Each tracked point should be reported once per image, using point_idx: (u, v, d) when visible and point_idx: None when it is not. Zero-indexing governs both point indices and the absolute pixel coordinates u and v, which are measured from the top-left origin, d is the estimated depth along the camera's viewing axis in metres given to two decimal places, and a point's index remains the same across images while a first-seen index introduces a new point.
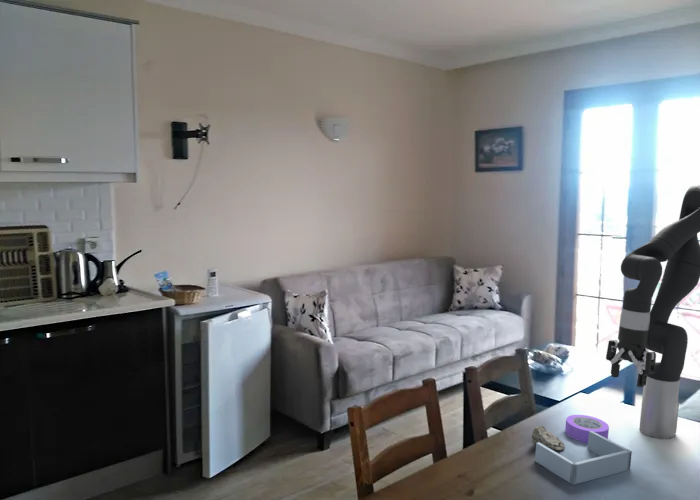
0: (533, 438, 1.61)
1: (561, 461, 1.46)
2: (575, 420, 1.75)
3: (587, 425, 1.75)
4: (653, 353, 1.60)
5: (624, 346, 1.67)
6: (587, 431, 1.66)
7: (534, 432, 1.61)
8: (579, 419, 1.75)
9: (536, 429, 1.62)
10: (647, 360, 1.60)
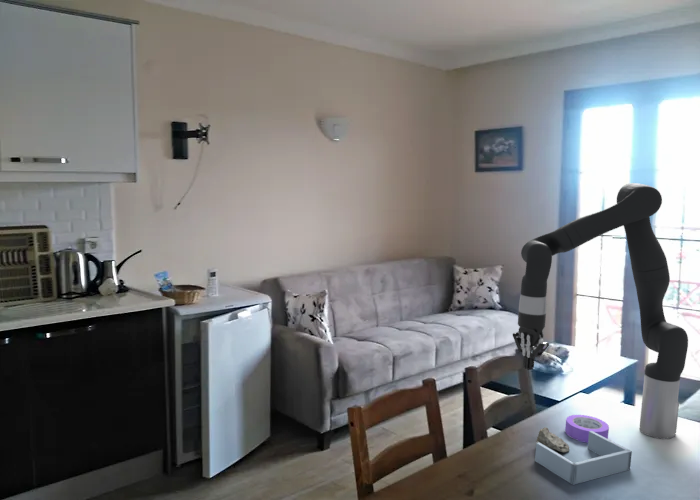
0: (539, 441, 1.59)
1: (561, 461, 1.46)
2: (575, 420, 1.75)
3: (587, 425, 1.75)
4: (546, 345, 1.64)
5: (524, 331, 1.70)
6: (587, 431, 1.66)
7: (539, 434, 1.60)
8: (579, 419, 1.75)
9: (541, 431, 1.60)
10: (538, 348, 1.65)
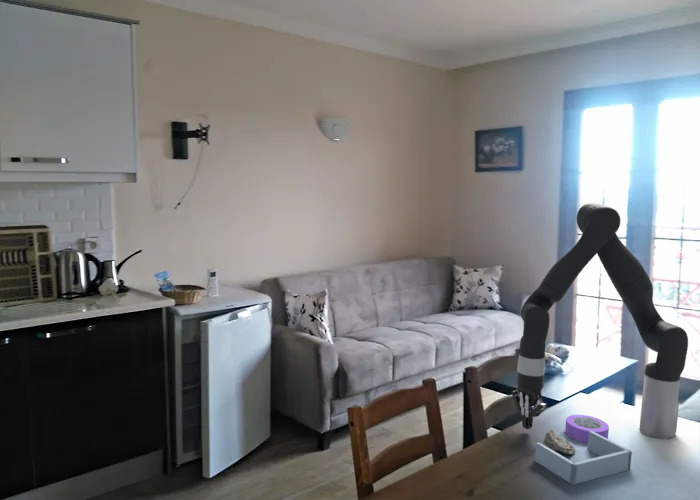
0: (546, 443, 1.58)
1: (561, 461, 1.46)
2: (575, 420, 1.75)
3: (587, 425, 1.75)
4: (544, 406, 1.65)
5: (523, 390, 1.71)
6: (587, 431, 1.66)
7: (546, 437, 1.58)
8: (579, 419, 1.75)
9: (548, 434, 1.59)
10: (536, 409, 1.66)
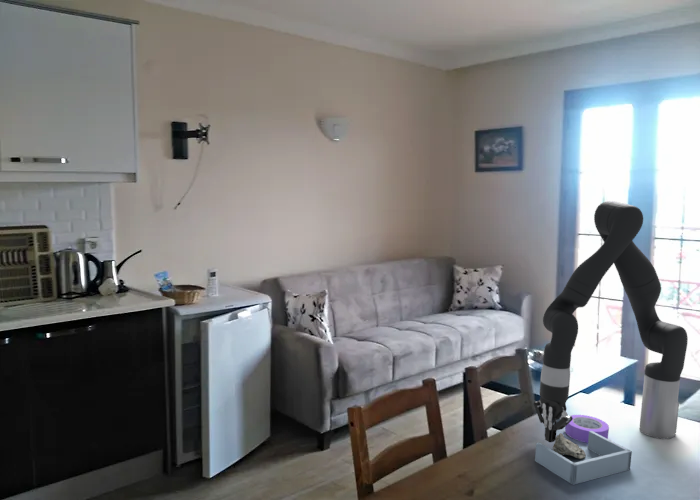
0: (556, 447, 1.56)
1: (561, 461, 1.46)
2: (575, 420, 1.75)
3: (587, 425, 1.75)
4: (570, 419, 1.57)
5: (546, 401, 1.63)
6: (587, 431, 1.66)
7: (556, 441, 1.56)
8: (579, 419, 1.75)
9: (558, 438, 1.57)
10: (560, 422, 1.58)
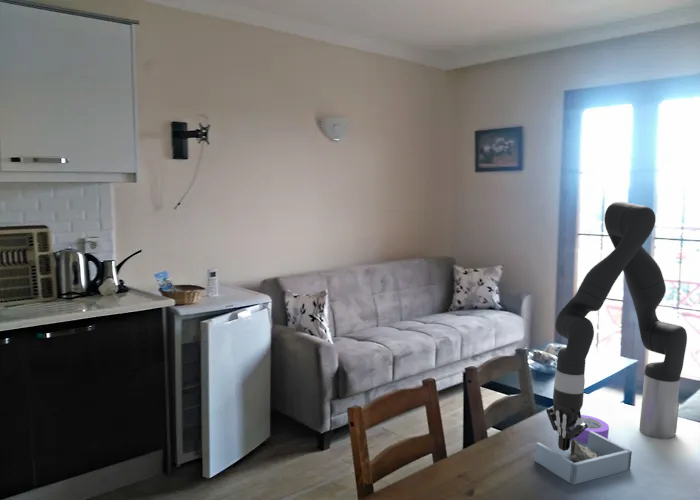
0: (576, 455, 1.52)
1: (561, 461, 1.46)
2: None
3: (587, 425, 1.75)
4: (584, 427, 1.52)
5: (559, 408, 1.58)
6: (587, 431, 1.66)
7: (576, 449, 1.52)
8: None
9: (577, 445, 1.53)
10: (575, 430, 1.53)
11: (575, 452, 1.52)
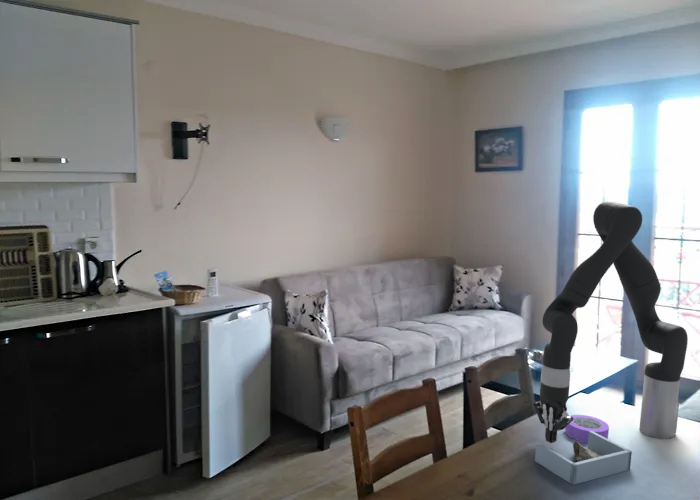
0: (581, 457, 1.51)
1: (561, 461, 1.46)
2: (575, 420, 1.75)
3: (587, 425, 1.75)
4: (570, 419, 1.57)
5: (546, 402, 1.62)
6: (587, 431, 1.66)
7: (580, 450, 1.51)
8: (579, 419, 1.75)
9: (582, 447, 1.52)
10: (561, 422, 1.58)
11: (580, 454, 1.51)
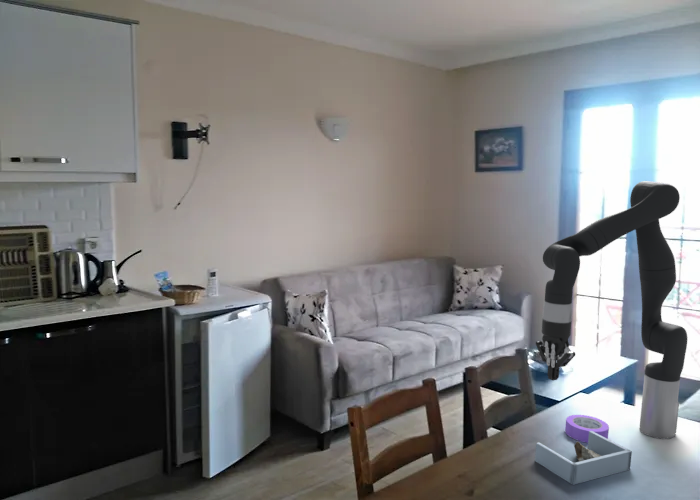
0: (584, 458, 1.50)
1: (561, 461, 1.46)
2: (575, 420, 1.75)
3: (587, 425, 1.75)
4: (572, 354, 1.56)
5: (548, 339, 1.62)
6: (587, 431, 1.66)
7: (583, 451, 1.51)
8: (579, 419, 1.75)
9: (584, 448, 1.51)
10: (563, 358, 1.57)
11: (582, 455, 1.50)
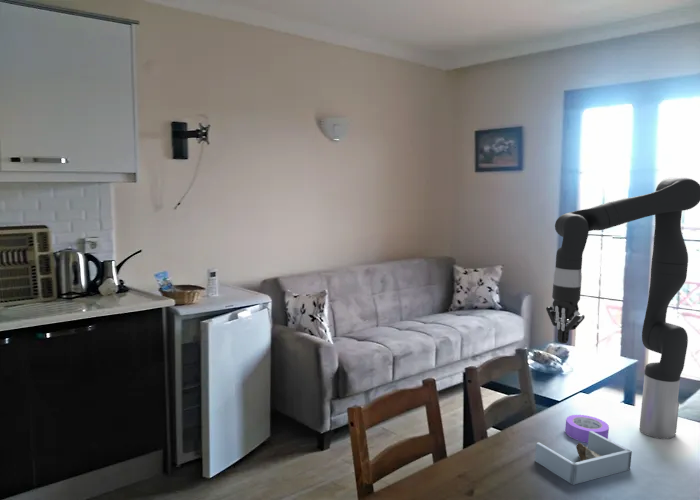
0: None
1: (561, 461, 1.46)
2: (575, 420, 1.75)
3: (587, 425, 1.75)
4: (582, 317, 1.64)
5: (558, 304, 1.70)
6: (587, 431, 1.66)
7: (587, 453, 1.50)
8: (579, 419, 1.75)
9: (588, 449, 1.50)
10: (573, 321, 1.65)
11: (586, 457, 1.50)
